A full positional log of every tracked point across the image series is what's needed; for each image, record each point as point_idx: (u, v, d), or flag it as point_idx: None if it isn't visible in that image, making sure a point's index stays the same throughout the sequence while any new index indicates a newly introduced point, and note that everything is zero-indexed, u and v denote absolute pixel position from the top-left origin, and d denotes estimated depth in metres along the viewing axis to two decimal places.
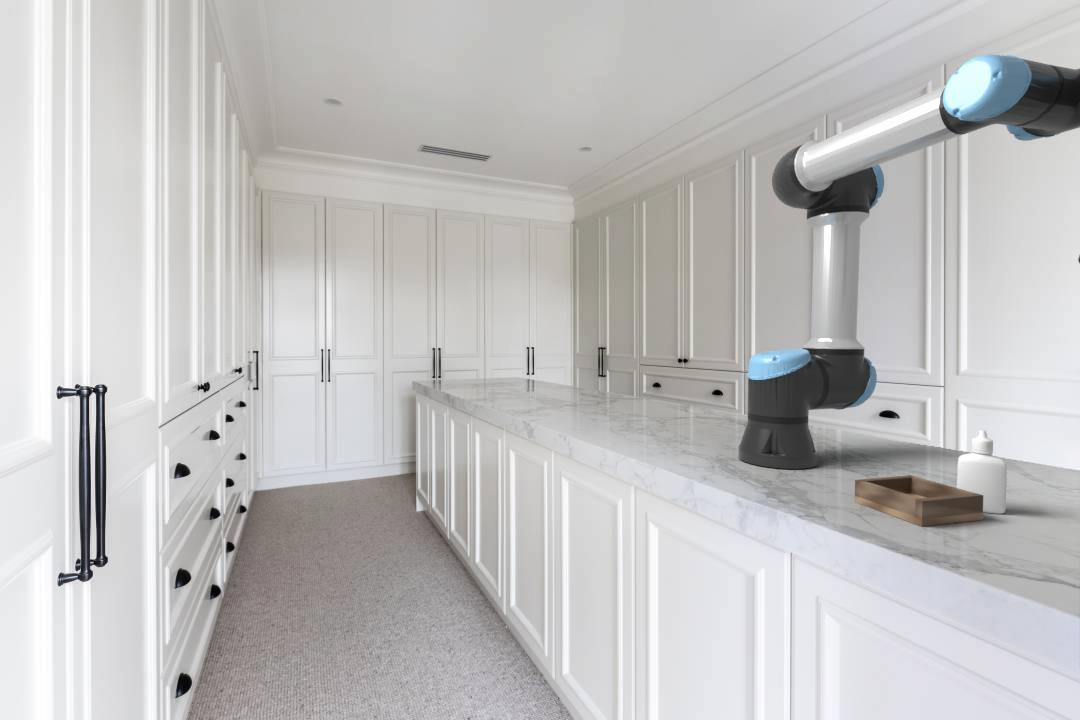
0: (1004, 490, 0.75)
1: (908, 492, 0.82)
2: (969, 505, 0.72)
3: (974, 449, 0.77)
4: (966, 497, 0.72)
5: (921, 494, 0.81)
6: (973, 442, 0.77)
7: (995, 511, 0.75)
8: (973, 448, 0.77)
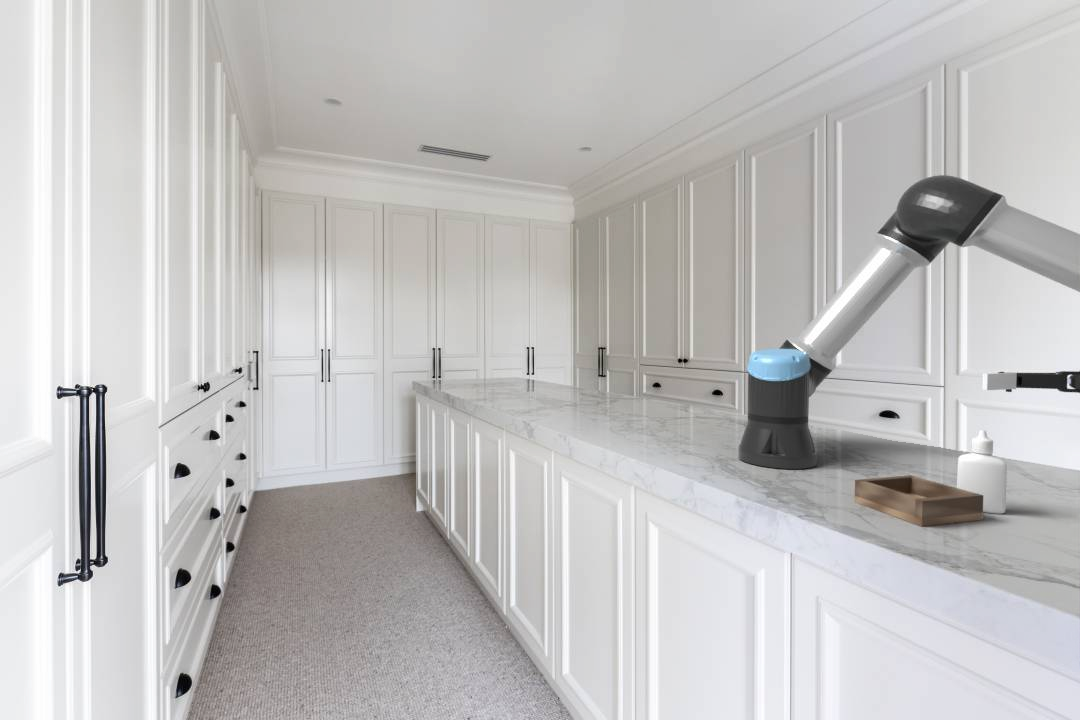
0: (1004, 490, 0.75)
1: (908, 492, 0.82)
2: (969, 505, 0.72)
3: (974, 449, 0.77)
4: (966, 497, 0.72)
5: (921, 494, 0.81)
6: (973, 442, 0.77)
7: (995, 511, 0.75)
8: (973, 448, 0.77)
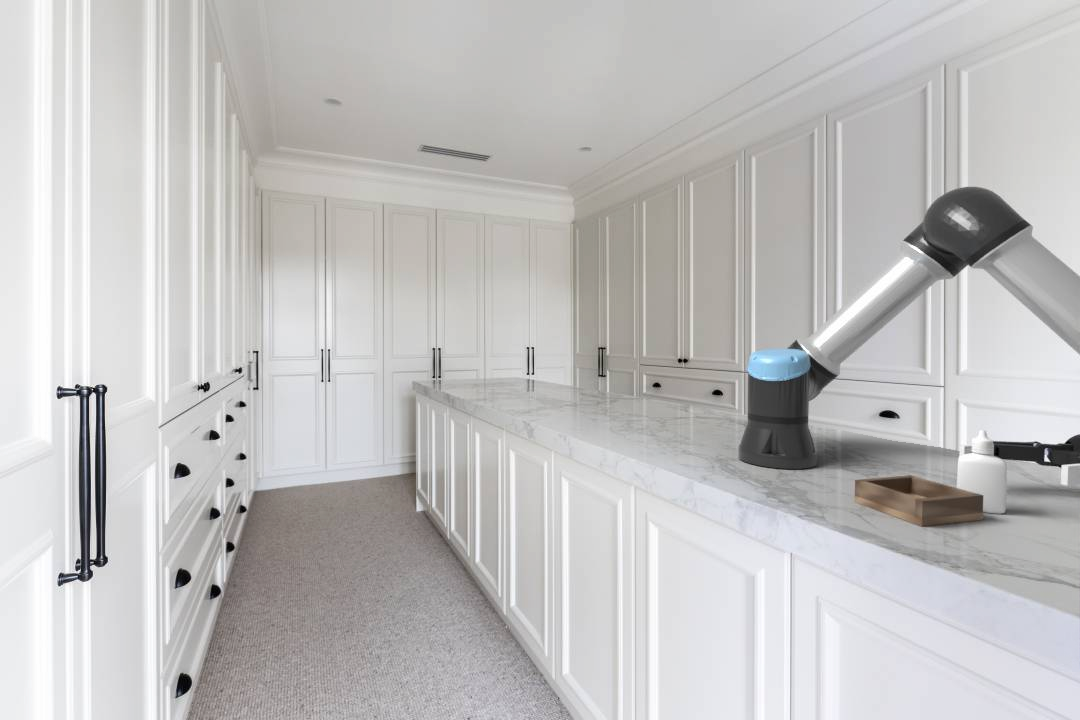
0: (1004, 490, 0.75)
1: (908, 492, 0.82)
2: (969, 505, 0.72)
3: (974, 449, 0.77)
4: (966, 497, 0.72)
5: (921, 494, 0.81)
6: (973, 442, 0.77)
7: (995, 511, 0.75)
8: (973, 448, 0.77)
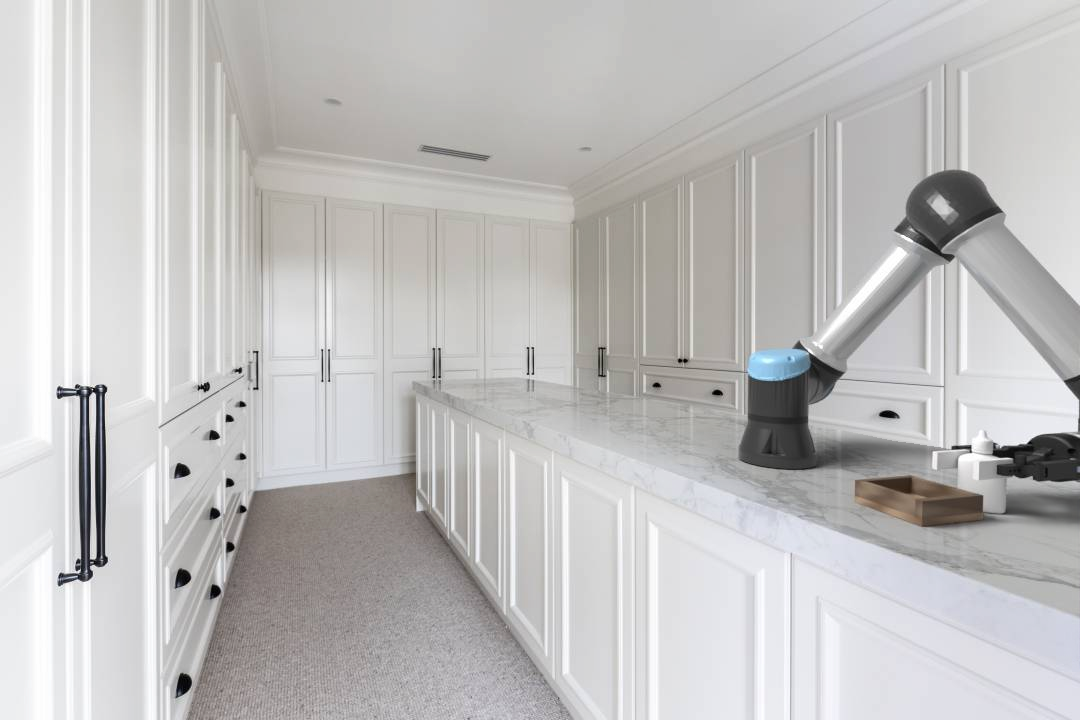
0: (1004, 490, 0.75)
1: (908, 492, 0.82)
2: (969, 505, 0.72)
3: (974, 449, 0.77)
4: (966, 497, 0.72)
5: (921, 494, 0.81)
6: (973, 442, 0.77)
7: (995, 510, 0.75)
8: (973, 448, 0.77)
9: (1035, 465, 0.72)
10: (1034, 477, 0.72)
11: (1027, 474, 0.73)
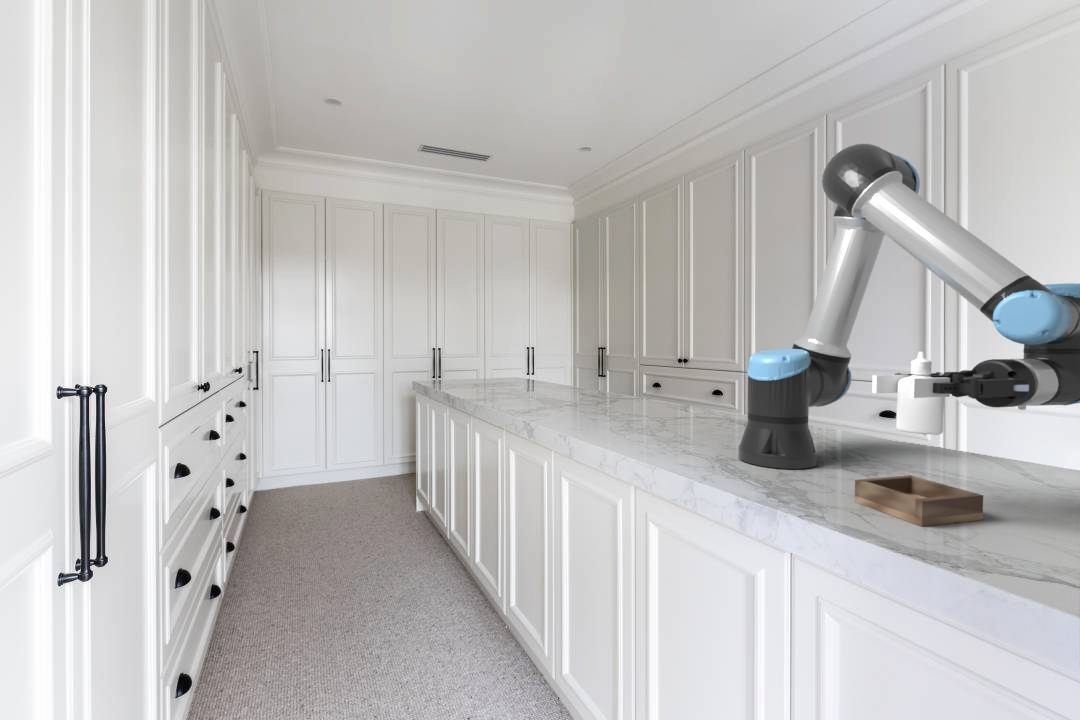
0: (941, 410, 0.74)
1: (908, 492, 0.82)
2: (969, 505, 0.72)
3: (913, 371, 0.76)
4: (966, 497, 0.72)
5: (921, 494, 0.81)
6: (912, 364, 0.76)
7: (933, 431, 0.74)
8: (912, 370, 0.76)
9: (971, 382, 0.71)
10: (969, 394, 0.71)
11: (963, 392, 0.72)
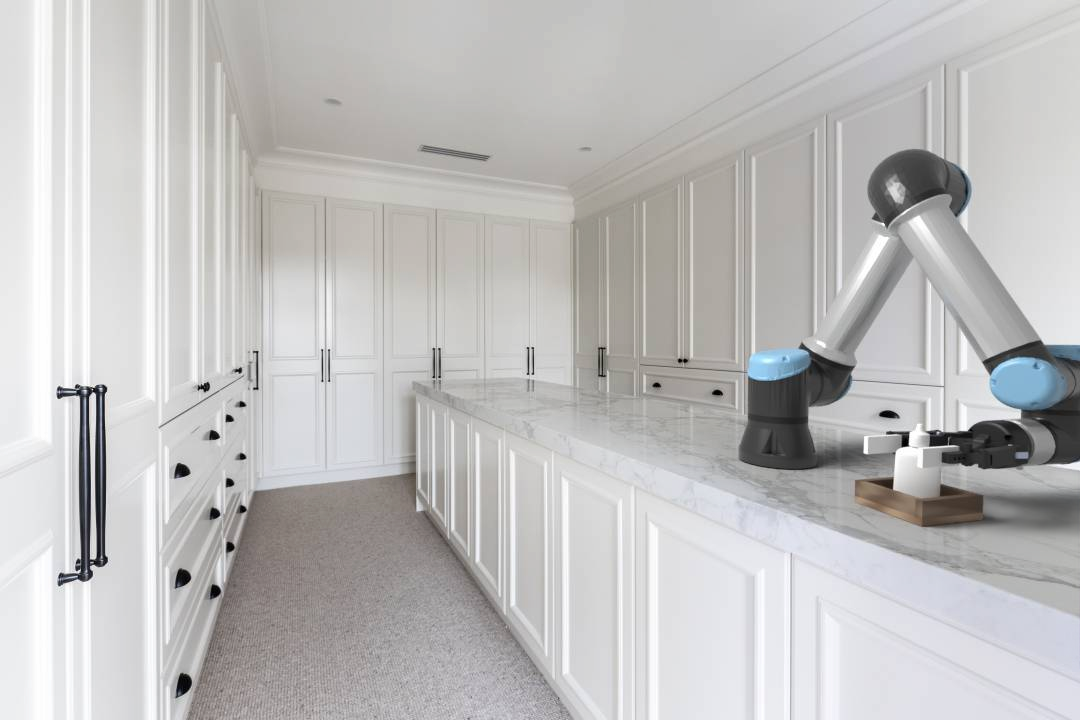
0: (938, 484, 0.74)
1: None
2: (969, 505, 0.72)
3: (911, 443, 0.76)
4: (966, 497, 0.72)
5: None
6: (910, 436, 0.76)
7: None
8: (910, 442, 0.76)
9: (981, 453, 0.70)
10: (980, 465, 0.70)
11: (973, 462, 0.71)
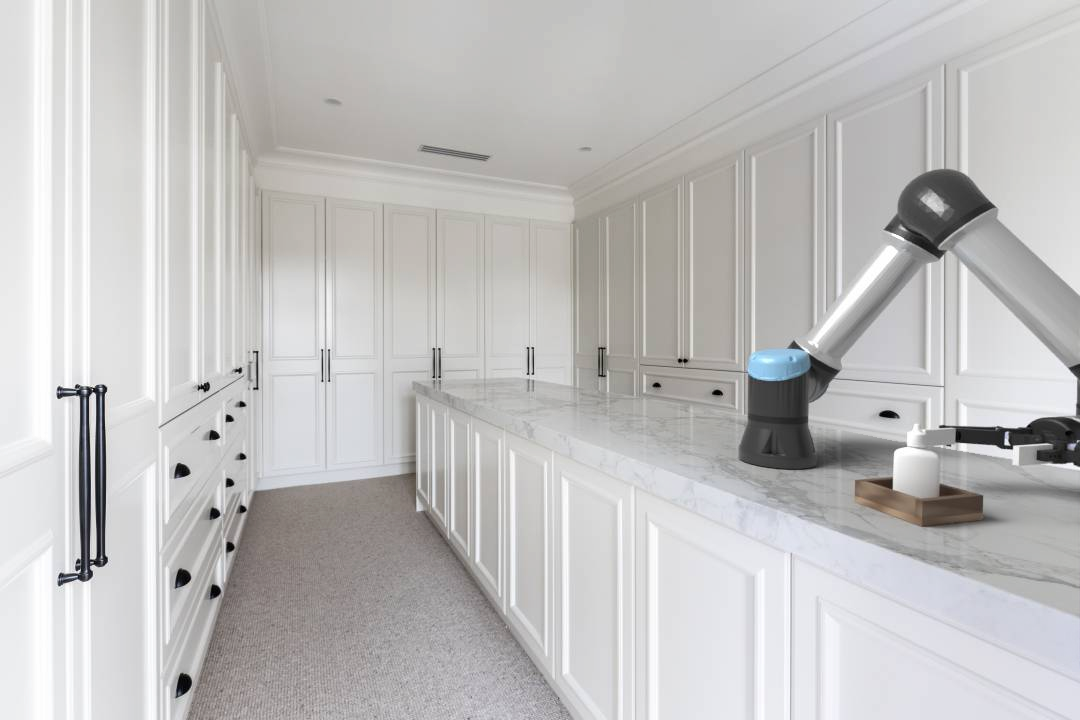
0: (937, 484, 0.75)
1: None
2: (969, 505, 0.72)
3: (909, 443, 0.77)
4: (966, 497, 0.72)
5: None
6: (908, 436, 0.77)
7: None
8: (908, 442, 0.77)
9: (1079, 451, 0.71)
10: (1077, 463, 0.71)
11: None
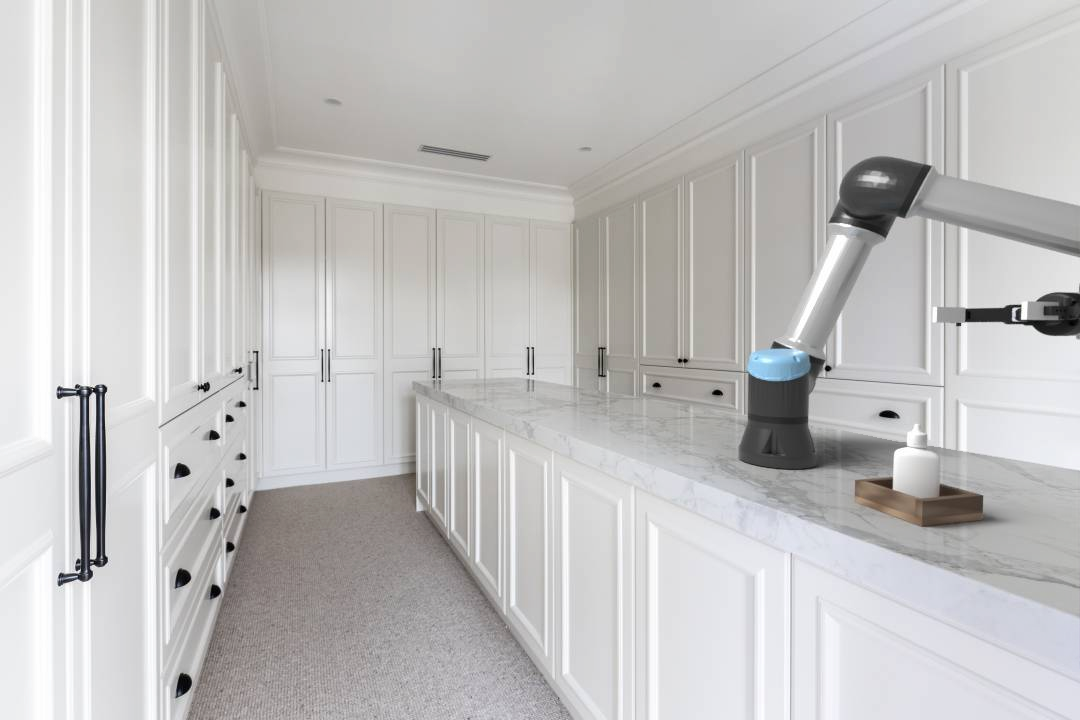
0: (937, 484, 0.75)
1: None
2: (969, 505, 0.72)
3: (909, 443, 0.77)
4: (966, 497, 0.72)
5: None
6: (908, 436, 0.77)
7: None
8: (908, 442, 0.77)
9: None
10: None
11: None
